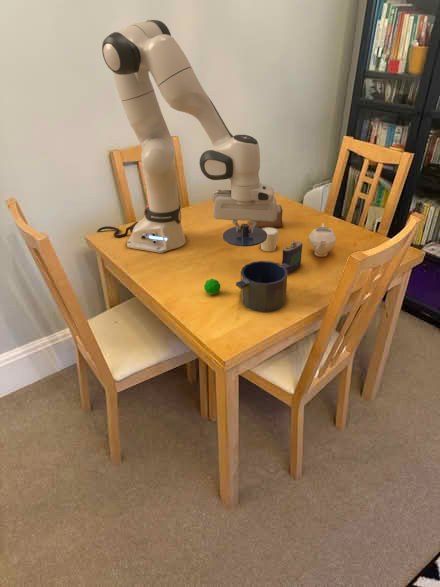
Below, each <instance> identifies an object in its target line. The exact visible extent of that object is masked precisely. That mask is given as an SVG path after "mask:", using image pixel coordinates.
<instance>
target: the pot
mask: <svg viewBox="0 0 440 587" xmlns="http://www.w3.org/2000/svg"><path fill="white" fill-rule="evenodd" d="M290 267H291V266H290V265H288V264H286V263H284V264H282V263H281V264H280V263H278V262H274V261H271V260H256V261H252V262H249V263H246V264H245V265H244V266H243V267H241V270H240V280H239V281H237V282H235V286H236V287H237V288H238V289H240V301H241V304H242V305H243V306H244V307H245V308H247V309H249V310H251V311H255V312H260V313H261V312H262V313H266V312H267V313H269V312H274V311H276V310H279V309H281V308H282V307H283V306H284V305H285V303H286V300H287V284H288V275H289V274H288V271H287V270H289V269H290ZM287 274H288V275H287Z"/></svg>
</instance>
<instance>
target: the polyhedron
mask: <svg viewBox="0 0 440 587" xmlns="http://www.w3.org/2000/svg"><path fill="white" fill-rule="evenodd" d="M203 286H204V287H203V288H204V290H205V292H206V293H207V294H209V295H215V294H218V293H219V291H220V289H221V284H220V281H219V280H217V279H215V278H209V279H207V280H206V281H205V283H204V285H203Z"/></svg>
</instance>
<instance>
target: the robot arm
mask: <svg viewBox="0 0 440 587" xmlns="http://www.w3.org/2000/svg"><path fill="white" fill-rule="evenodd" d="M101 51H102V57H103V60H104V63H105V64H106V66H107V67H108V69H109V70H111V71H112V73H113V78H114V83H115V86H116V90H117V93H118V96H119V99H120V101H121V105H122V107H123V109H124V112H125V115H126V117H127V120H128V123H129V125H130V127H131V128H132V130H133V132H134V134H135V136H136V138H137V140H138V142H139V144H140V148H141V154H140V160H141V166H142V172H143V178H144V183H145V187H146V195H147V205H146V206H145V208H144V210H143V212H142V213H143V216H144V217H143V218H141V219H140V220H139V221H135V222H134V223H133V224H132V225H130V226H128V227H126V228H125V232H123V233H122V234H119V232H120V229H119V228H118V227H115V226H109V225H108V226H106V225H105V226H102V227H99V228H98V229H97V230H96V233H100V232H101V231H103V230H114V231H115V232H113V237H115V238H123V237H126V236H127V235H128V234H129V232H130V233H132V234H131V235H130V236H129V237H128V239H127V242H126V246H127V248H129V249H133V250H134V249H135V250H139V251H140V250H141V251H146V252H153V253H157V254H158V253H159V254H163V253H165V252H166V253H167V252H168V251H171V250H175V249H179V248H180V247H182V246H184V245H185V243H186V242H187V239H186V236H185V234H184V231H183V230H184V229H183V226H182V209H181V205H180V202H179V190H178V189H179V188H178V181H177V180H178V179H177V170H176V169H177V168H176V150H175V149H176V148H175V143H174V141H173V139H172V136H171V133H170V130H169V128H168V125H167V123H166V120H165V117H164V115H163V112H162V110H161V107H160V103H159V100H158V97H157V95H156V94H157V93H156V92H155V90H154V89H155V88H154V86H153V83H152V81H151V78H150V74H151V76H152V78H153V80H154V82H155V84H156V86H157V89H158V90H159V92H160V94H161V96H162V98H163V99H164V101H165V102H166V103H167V104H168V106H169V107H170V108H171V109H173V110H175V111H178V112H182V113H185V114H188V115H191V116H193V117H194V118H195V119H197V120H198V122H199V123H200V125H201V126H202V128H203V129H204V132H205V133H206V135H207V137H208V138H209V140H210V141H211V144H212V146H210V147H209V148H207V149H206V150H205V151H204V152H202V154H201V156H200V157H199V169H200V171H201V173H202V174H203V176H205V177H206V178H207V179H209V180H211V181H224V180H230V189H223V190H222V189H217V190H216V191H214V192H213V193H212V195H211V197H212V198H211V199H212V202H213V210H212V211H213V212H212V217H213V218H214V219H215V220H223V221H232V224H233V225H234V227H236V232H241V225H240V224H239V223H238V221H248V222H249V221H252V224H253V225H252V226H250V225H249V231H248V232H249V233H253V230H254V227H255V225H256V223H257V221H269V222H274V221H275V220H276V219H277V205H278V204H277V199H276V197H275V196H274V195H275V190H274V188H273V187H272V186H269V185H266V184H264V183H261V182H260V175H259V172H260V168H261V151H260V146H259V141H258V140H257V139H256V138H255V137H253V136H251V135H248V134H235V135H233V134H232V133H231V132H230V130H229V129H228V127H227V125H226V124H225V122H224V120H223V119H222V117H221V114H220V113H219V111H218V110H217V108H216V106H215V105H214V103H213V101H212V100H211V98H210V97H209V95H208V94H207V92H206V91H205V89H204V88H203V86H202V84H201V82H200V81H199V79H198V76H197V75H196V73H195V71H194V69H193V66H192V65H191V63H190V61H189V59H188V57H187V56H186V54H185V52H184V50H183V49H182V47H181V46H180V45H179V43H178V42H177V40H176V39H175V38H174V37H173V36H172V34H171V32H170V29H169V27H168V26H167V25H166V23H164V22H163V21H162V20H158V19H150V20H149V19H147V20H146V21H142V22H137V23H134V24H130V25H129V26H127V27H125V28H122V29H119V30H118V31H114V32H112V33H110V34H109V35H107V36H106V37H105V38H104V40H103V41H102V45H101Z"/></svg>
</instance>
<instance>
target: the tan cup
mask: <svg viewBox="0 0 440 587" xmlns="http://www.w3.org/2000/svg"><path fill="white" fill-rule="evenodd" d="M261 229H263V230H264V231H265V232H266V233H267V239H266V240H265V241H264V242H263V243H261V244H260V249H261V250H262V251H264V252H274V251H276V249H277V245H278V239H279V233H280V232H279V229H278V228H277V227H265V228H261Z"/></svg>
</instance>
